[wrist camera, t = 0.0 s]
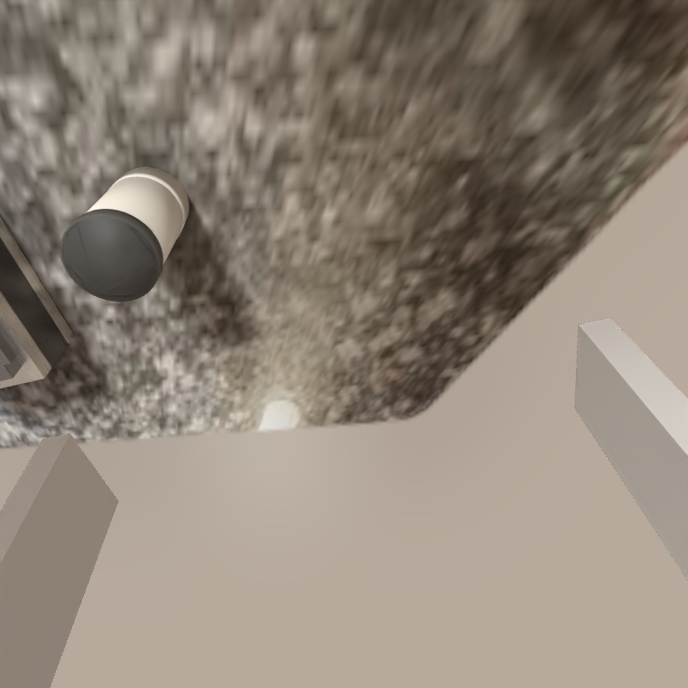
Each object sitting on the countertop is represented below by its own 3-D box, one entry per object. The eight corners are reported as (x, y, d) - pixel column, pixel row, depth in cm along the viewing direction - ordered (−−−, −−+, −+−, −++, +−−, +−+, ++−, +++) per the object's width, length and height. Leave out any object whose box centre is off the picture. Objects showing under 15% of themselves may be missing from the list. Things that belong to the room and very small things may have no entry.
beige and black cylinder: (100, 175, 37) (41, 227, 28) (173, 157, 36) (134, 204, 28) (134, 244, 40) (89, 310, 31) (201, 228, 39) (174, 290, 31)
